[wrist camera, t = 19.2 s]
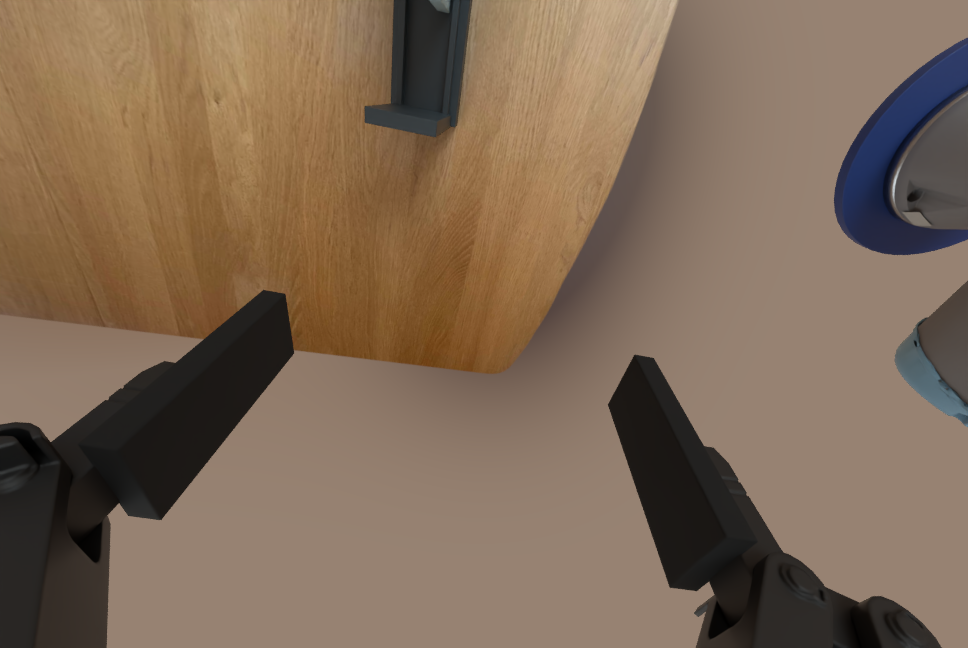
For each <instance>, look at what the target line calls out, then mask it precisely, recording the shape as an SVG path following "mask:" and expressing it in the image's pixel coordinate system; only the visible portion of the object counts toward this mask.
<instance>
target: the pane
mask: <svg viewBox="0 0 968 648" xmlns="http://www.w3.org/2000/svg"><path fill="white" fill-rule="evenodd" d="M429 1H430V2H431V3H432V5H433V6H434V7H435V8H436V10H437V11H441V12H445V13H450V4H451V0H429Z"/></svg>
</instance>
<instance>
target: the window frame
mask: <svg viewBox="0 0 968 648" xmlns="http://www.w3.org/2000/svg"><path fill="white" fill-rule="evenodd" d="M471 6H472V0H451V4H450V13H445V12H441V11H437V10H436V8H435V7H434V6H433V5H432V3H431V2H430V1H429V0H394V12H393V46H392V80H391V104H382V105H372V106H365V123H369V124H374V125H378V126H383V127H388V128H393V129H398V130H403V131H408V132H412V133H417V134H422V135H427V136H432V137H437V136H438V135H440V134H441V133H443V132H444V131H446V130H447V129H449V128H450V126H451V127H456V126H457V121H458V113H459V105H460V97H461V88H462V80H463V72H464V64H465V55H466V47H467V39H468V31H469V22H470V14H471Z"/></svg>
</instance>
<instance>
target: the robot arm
mask: <svg viewBox="0 0 968 648" xmlns="http://www.w3.org/2000/svg"><path fill="white" fill-rule="evenodd" d="M883 198H884V202H885V205H886V207H887V209H888V211H889V212H890V213H891V214H892V215H893V216H894V217H895V218H897V219H899V220H901V221H903V222H906V223H909V224H912V225H915V226H919V227H924V228H931V229H961V230H968V85H966V86H965V87H963V88H961V89H959V90H958V91H956V92H955V93H953V94H952V95H950V96H949V97H948V98H946V99H945V100H943V101H942V102H941V103H940V104H938V105H937V106H936V107H935V108H933V109H932V110H931V111H930V112H929V113H928V114H927V115H926V116H925V117H924V118H923V119H922V120H921V121H920V122H919V123H918V124H917V125H916V126H915V127H914V128H913V129H912V130H911V131H910V133H909V134H908V135H907V136H906V138H905V139H904V140H903V142H902V143H901V145H900V146H899V148H898V149H897V151H896V152H895V154H894V156H893V158H892V160H891V162H890V164H889V166H888V169H887V172H886V175H885V178H884V183H883ZM293 354H294V349H293V342H292V336H291V329H290V322H289V316H288V309H287V302H286V295H285V294H283V293H277V292H272V291H266V290H263V291H262V292H261V293H259V294H258V295H257V296H256V297H255V298H253V299H252V300H251V301H250V302H249V303H247V304H246V305H245V306H244V307H243V308H241V309H240V310H239V311H238V312H236V313H235V314H234V315H233V316H232V317H230V318H229V319H228V320H227V321H226V322H224V323H223V324H222V325H221V326H220V327H218V328H217V329H216V330H215V331H214V332H212V333H211V334H210V335H209V336H208V337H206V338H205V339H204V340H203V341H202V342H200V343H199V344H198V345H197V346H195V348H193V349H192V350H191V351H190V352H188V353H187V354H186V355H185V356H183V357H182V358H181V359H180V360H179V361H177V362H176V363H172V362H166V361H164V362H162V363H160V364H158V365H156V366H153V367H151V368H149V369H147V370H145V371H143V372H141V373H140V374H138V375H137V376H136V377H134V378H133V379H132V380H131V381H129V382H128V383H127V384H126V385H124V388H123V389H119V390H118V391H116V392H115V393H114V394H113V395H111V396H110V397H109V400H105V401H104V402H102V403H101V404H100V405H98V406H97V407H96V408H95V409H93V410H92V411H91V412H89V413H88V414H87V415H85V416H84V417H83V418H82V419H80V420H79V421H78V422H77V423H75V424H74V425H73V426H71V427H70V428H69V429H67V430H66V431H65V432H64V433H62V434H61V435H60V436H58V437H57V438H56V439H55V440H53V441H52V442H50V441H49V440H48V438H47V437H46V436H45V435H44V433H43V432H42V431H41V429H40V428H39V427H37V426H35V425H33V424H31V423H18V422H14V423H8V424H2V425H0V648H106V645H107V615H108V613H107V612H108V585H109V553H110V552H109V551H110V522H109V518H108V516H107V515H108V514H109V513H110V512H111V511H112V510H113V509H114V508H115V507H116V505H117V504H118V503H120V505H121V506H122V508H123V509H124V510H125V512H126V513H127V515H128V516H134V517H141V518H150V519H156V520H162V518H163V517H164V516H165V514H166V513H167V512H168V511H169V509H170V508H171V507H172V506H173V504H174V503H175V502H176V501H177V499H178V498H179V497H180V496H181V494H182V493H183V492H184V491H185V489H186V488H187V487H188V485H189V484H190V483H191V482H192V481H193V479H194V478H195V477H196V476H197V474H198V473H199V472H200V471H201V469H202V468H203V467H204V466H205V464H206V463H207V462H208V460H209V459H210V458H211V456H213V454H214V453H215V452H216V450H217V449H218V448H219V447H220V446H221V444H222V443H223V442H224V441H225V439H226V438H227V437H228V435H229V434H230V433H231V432H232V430H233V429H234V428H235V427H236V425H237V424H238V423H239V422H240V420H241V419H242V418H243V417H244V415H245V414H246V413H247V412H248V410H249V409H250V408H251V407H252V405H253V404H254V403H255V402H256V400H257V399H258V398H259V397H260V395H261V394H262V393H263V392H264V390H265V389H266V388H267V386H268V385H269V384H270V383H271V382H272V380H273V379H274V378H275V376H276V375H277V374H278V373H279V372H280V370H281V369H282V368H283V367H284V365H285V364H286V363H287V362H288V360H289V359H290V358H291V357H292V355H293ZM895 363H896V366H897V369H898V371H899V372H900V374H901V375H902V377H903V378H904V379H905V380H906V381H907V383H908V384H909V385H910V386H911V387H912V388H913V389H915V390H916V391H917V392H918V393H919V394H920V395H921V396H922V397H923V398H925V399H926V400H927V401H928V402H930V403H931V404H932V405H934V406H935V407H936V408H938V409H939V410H941V411H942V412H944V413H945V414H947V415H949V416H954V417H956V418H958V419H959V420H960V421H961V422H962V423H963V424H964V425H965V426H967V427H968V281H967V282H966V283H965V284H964V285H963V286H961V287H960V288H959V289H958V290H957V291H956V292H955V293H954V294H953V295H952V296H951V297H950V298H949V299H948V300H947V301H946V302H944V303H943V304H942V305H941V306H940V307H939V308H938V309H937V310H936V311H935V312H934V313H933V314H932V315H931V316H929V317H928V318H925V319H922V320H921V321H920V322H918V323H917V325H916V327H915V328H914V330H913V332H912V333H911V334H910V335H909V337H907V338H906V339H905V340H904V341H903V342H902V344H901V345H900V346H899V347H898V349H897V351H896V355H895ZM608 406H609V409H610V412H611V415H612V418H613V421H614V424H615V427H616V430H617V433H618V436H619V438H620V442H621V445H622V448H623V451H624V453H625V456H626V459H627V462H628V465H629V468H630V471H631V474H632V477H633V480H634V483H635V486H636V489H637V492H638V495H639V498H640V501H641V504H642V507H643V510H644V512H645V515H646V518H647V522H648V524H649V527H650V530H651V533H652V536H653V539H654V542H655V545H656V548H657V551H658V554H659V557H660V560H661V563H662V566H663V569H664V572H665V574H666V578H667V581H668V584H669V587H670V588H678V589H685V590H694V591H697V590H699V589H700V588H701V587H702V586H704V585H705V584H706V583H707V582H710V585H711V587H712V589H713V592H714V594H715V595H714V596H712V597H711V598H710V599H708V600H707V601H706V602H705V603H703V604H702V605H701V606H699V607H698V608H697V610H696V611H695V612H694V614H695V615H697V616H698V617H699V616H700V615H702V614H703V613H704V612H706V614H705V617H704V621H703V624H702V628H701V632H700V635H699V638H698V642H697V645H696V648H941V646H940V644H939V643H938V641H937V639H936V638H935V637H934V636H933V635H932V633H931V632H930V631H929V630H928V629H927V628H926V627H925V625H924V624H923V623H922V622H921V621H919V620H918V619H917V618H916V617H915V616H914V615H913V614H911V613H910V612H909V611H908V610H906V609H905V608H903V607H902V606H900V605H898V604H897V603H896V602H894V601H892V600H889V599H887V598H884V597H881V596H873V597H870V598H869V599H866V600H864V601H863V602H861V603H859V602H857V601H854V600H852V599H850V598H848V597H846V596H843V595H841V594H839V593H837V592H835V591H833V590H831V589H828V588H826V587H825V586H824V584H823V583H822V582H821V581H820V579H819V578H818V577H817V576H816V575H815V574H814V573H813V571H812V570H810V569H809V568H808V567H807V566H806V565H804V564H803V563H802V562H801V561H799V560H798V559H796V558H794V557H792V556H791V555H789V554H786V553H783V551H782V550H781V548H780V547H779V545H778V544H777V542H776V540H775V539H774V537H773V535H772V534H771V532H770V530H769V529H768V527H767V526H766V524H765V522H764V521H763V519H762V517H761V516H760V514H759V512H758V511H757V509H756V507H755V506H754V504H753V503H752V501H751V499H750V498H749V496H747V495H746V491H745V489H744V488H743V486H742V485H741V483H739V482H738V478H737V476H736V475H735V473H734V471H733V470H732V468H731V467H730V465H729V463H728V462H727V461H726V460H725V459H724V458H723V457H722V456H721V455H720V454H719V453H718V452H717V451H716V450H715V449H714V448H712V447H705V446H703V444H702V442H701V440H700V439H699V437H698V435H697V433H696V432H695V430H694V428H693V426H692V424H691V423H690V421H689V419H688V417H687V416H686V414H685V412H684V410H683V409H682V407H681V405H680V403H679V402H678V400H677V398H676V396H675V395H674V393H673V391H672V390H671V388H670V386H669V384H668V382H667V381H666V379H665V377H664V375H663V374H662V372H661V370H660V368H659V367H658V365H657V363H656V362H655V360H654V358H650V357H645V356H639V355H634V357H633V359H632V361H631V362H630V364H629V366H628V368H627V370H626V372H625V374H624V376H623V377H622V379H621V381H620V383H619V385H618V387H617V389H616V391H615V392H614V394H613V396H612V398H611V400H610V402H609V404H608Z"/></svg>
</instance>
